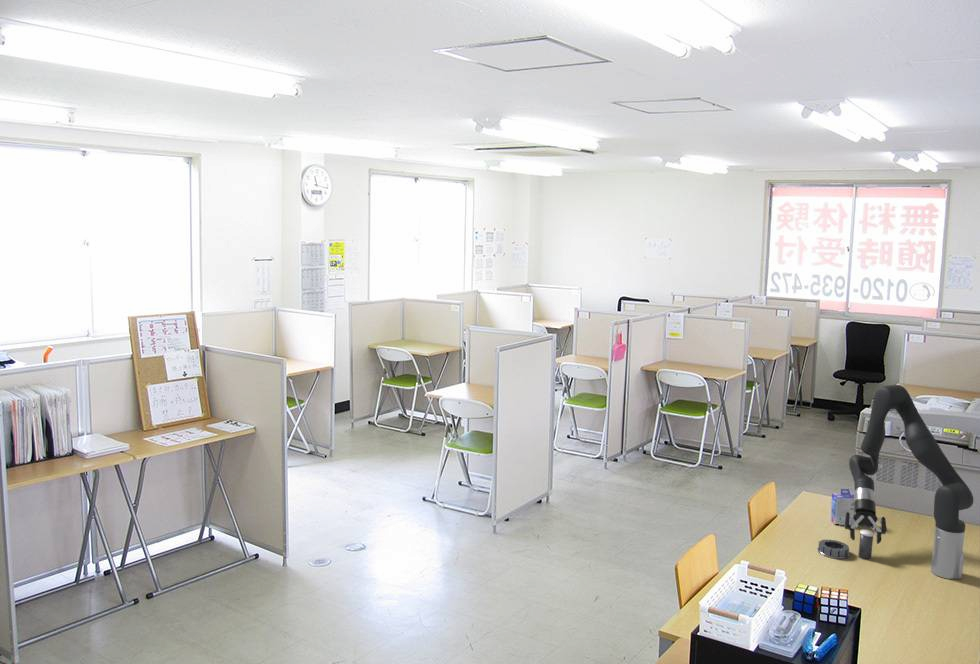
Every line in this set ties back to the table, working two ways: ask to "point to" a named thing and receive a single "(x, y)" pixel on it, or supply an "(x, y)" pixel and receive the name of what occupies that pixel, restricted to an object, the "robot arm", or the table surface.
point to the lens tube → (865, 544)
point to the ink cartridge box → (842, 507)
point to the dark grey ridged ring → (833, 549)
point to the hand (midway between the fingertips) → (865, 541)
